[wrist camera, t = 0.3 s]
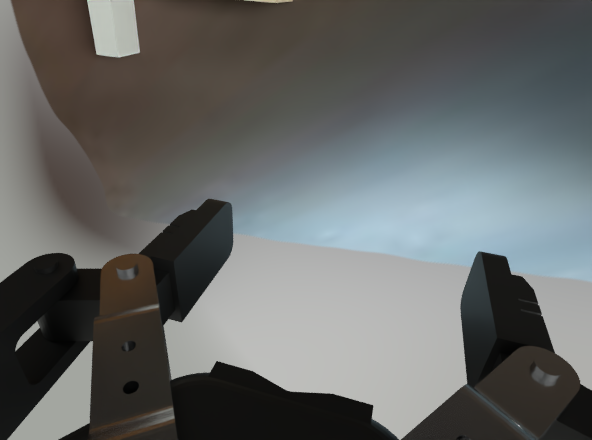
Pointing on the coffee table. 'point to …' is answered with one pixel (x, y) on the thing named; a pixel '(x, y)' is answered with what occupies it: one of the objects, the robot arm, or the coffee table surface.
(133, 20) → the board
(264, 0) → the maple block
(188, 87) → the coffee table surface
